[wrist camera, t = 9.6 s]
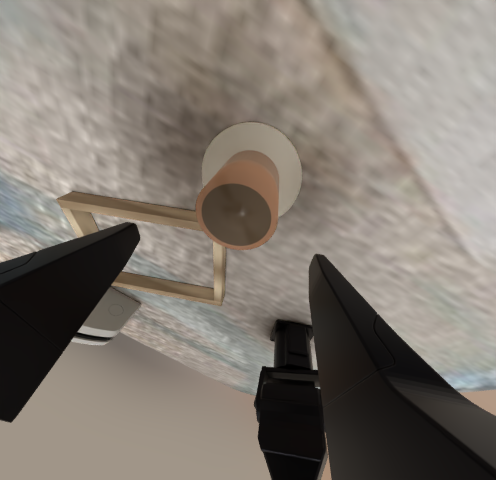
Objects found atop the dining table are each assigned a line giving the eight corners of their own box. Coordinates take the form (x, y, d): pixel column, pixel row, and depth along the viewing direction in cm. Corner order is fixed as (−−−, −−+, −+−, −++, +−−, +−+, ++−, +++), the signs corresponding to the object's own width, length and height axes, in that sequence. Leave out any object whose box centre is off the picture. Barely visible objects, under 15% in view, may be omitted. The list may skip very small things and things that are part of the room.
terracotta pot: (273, 211, 18) (270, 256, 13) (221, 203, 19) (198, 243, 14) (285, 154, 15) (286, 184, 10) (222, 146, 16) (191, 170, 10)
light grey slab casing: (41, 266, 32) (-35, 308, 23) (54, 246, 31) (-21, 283, 22) (133, 313, 37) (101, 363, 28) (146, 298, 36) (117, 345, 27)
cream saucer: (288, 226, 20) (288, 230, 19) (206, 213, 21) (204, 216, 20) (315, 129, 15) (316, 130, 14) (201, 114, 15) (198, 115, 14)
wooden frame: (224, 294, 29) (221, 306, 27) (114, 274, 30) (104, 284, 29) (226, 216, 20) (222, 226, 19) (72, 191, 22) (56, 199, 20)
